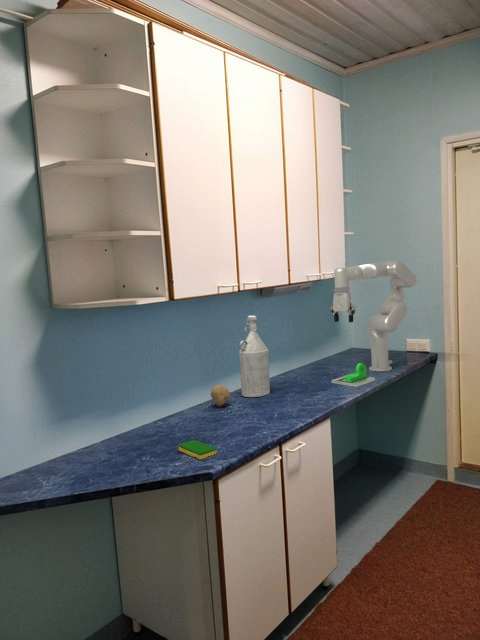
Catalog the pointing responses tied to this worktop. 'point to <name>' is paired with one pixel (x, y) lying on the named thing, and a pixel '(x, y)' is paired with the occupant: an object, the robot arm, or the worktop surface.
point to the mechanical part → (357, 373)
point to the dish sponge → (197, 449)
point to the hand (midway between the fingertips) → (343, 321)
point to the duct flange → (353, 383)
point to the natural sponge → (220, 395)
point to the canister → (254, 364)
